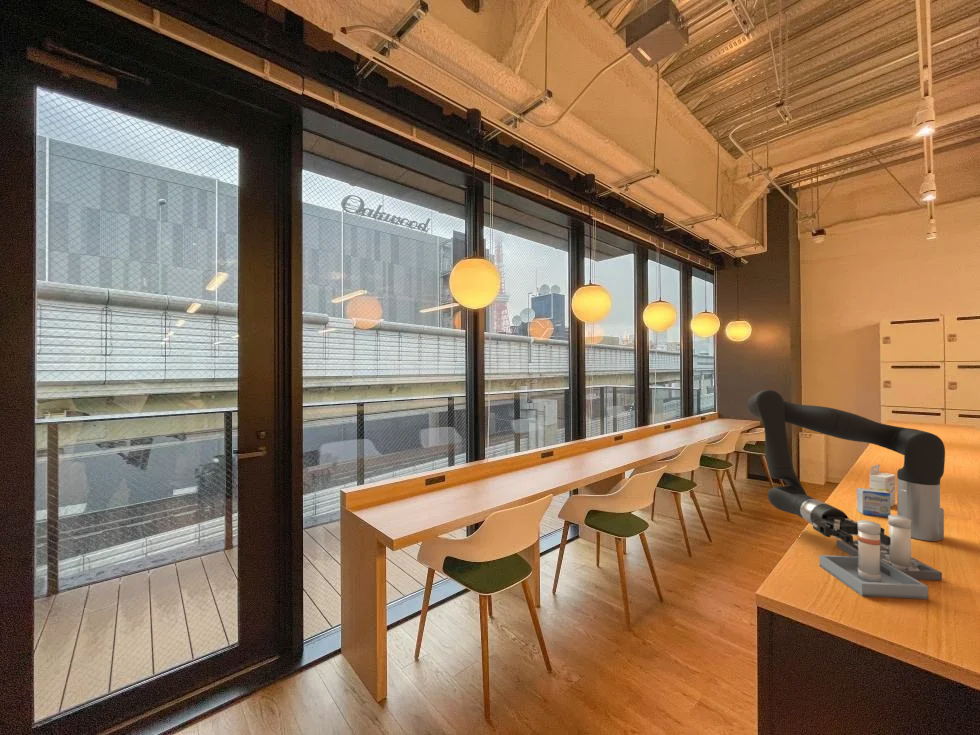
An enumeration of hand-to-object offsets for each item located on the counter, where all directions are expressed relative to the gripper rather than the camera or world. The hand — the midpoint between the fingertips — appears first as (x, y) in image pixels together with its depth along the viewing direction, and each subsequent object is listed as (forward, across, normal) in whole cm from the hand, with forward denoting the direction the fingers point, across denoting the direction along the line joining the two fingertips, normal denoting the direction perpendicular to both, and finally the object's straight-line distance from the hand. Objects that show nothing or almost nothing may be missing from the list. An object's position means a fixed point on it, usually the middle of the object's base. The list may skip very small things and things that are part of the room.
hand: (870, 540), depth 100 cm
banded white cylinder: (0, 0, +10) cm, 10 cm away
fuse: (-6, +12, +10) cm, 17 cm away
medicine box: (-48, +38, +11) cm, 62 cm away
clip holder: (-11, +12, +10) cm, 19 cm away
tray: (0, 0, +10) cm, 10 cm away
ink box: (-58, +49, +11) cm, 77 cm away
